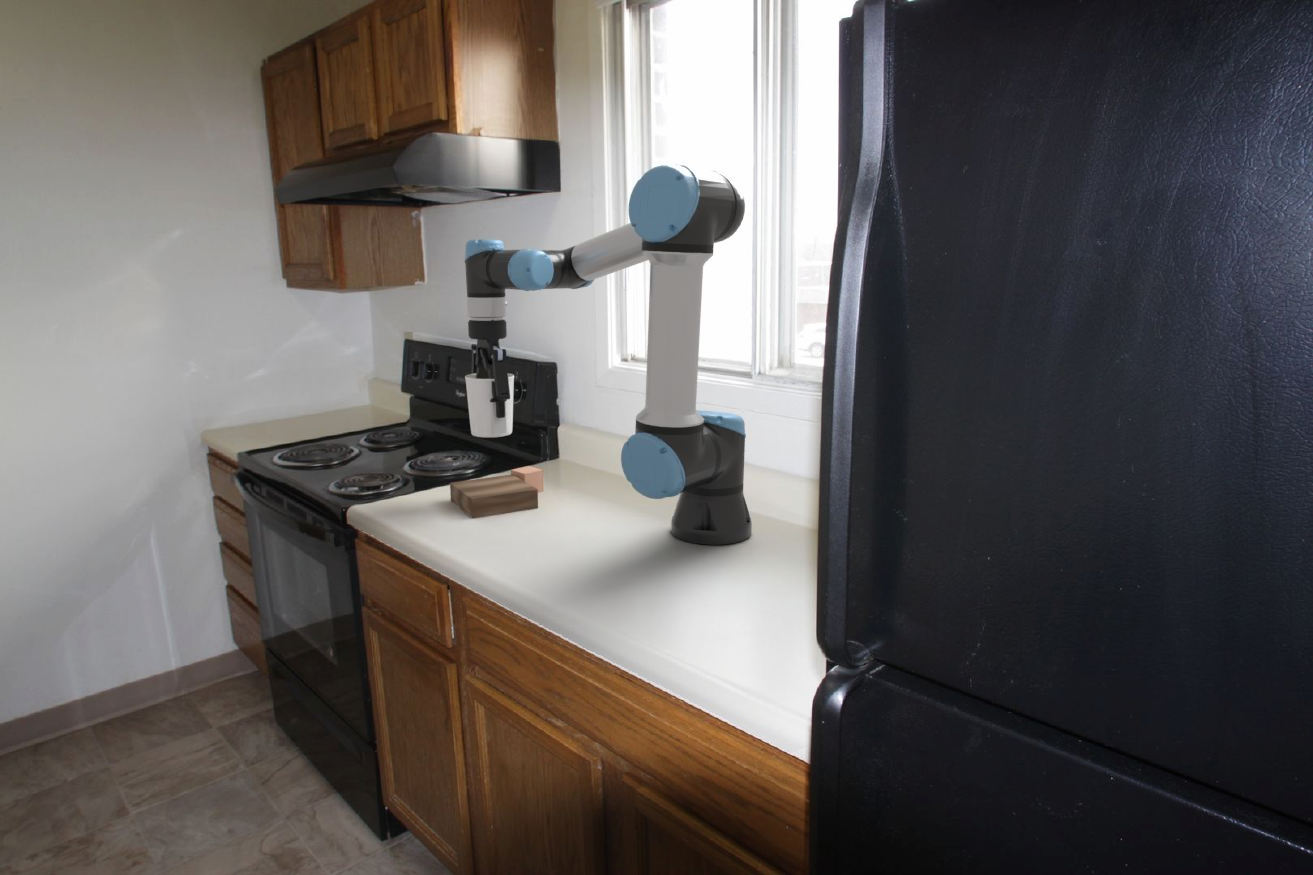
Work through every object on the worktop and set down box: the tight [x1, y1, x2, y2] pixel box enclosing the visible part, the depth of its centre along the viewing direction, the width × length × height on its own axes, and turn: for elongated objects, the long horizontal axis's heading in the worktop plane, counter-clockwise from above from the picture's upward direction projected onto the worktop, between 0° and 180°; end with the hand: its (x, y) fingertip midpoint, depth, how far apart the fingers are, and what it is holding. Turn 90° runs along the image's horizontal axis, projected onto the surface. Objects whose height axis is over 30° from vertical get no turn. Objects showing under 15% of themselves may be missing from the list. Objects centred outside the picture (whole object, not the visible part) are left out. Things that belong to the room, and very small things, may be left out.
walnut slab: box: [449, 474, 539, 519], centre depth 172 cm, size 14×14×4 cm
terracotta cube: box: [510, 465, 544, 494], centre depth 182 cm, size 5×5×5 cm
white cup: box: [464, 372, 515, 438], centre depth 168 cm, size 10×10×12 cm
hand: (491, 429), depth 169 cm, fingers closed on white cup, 9 cm apart
